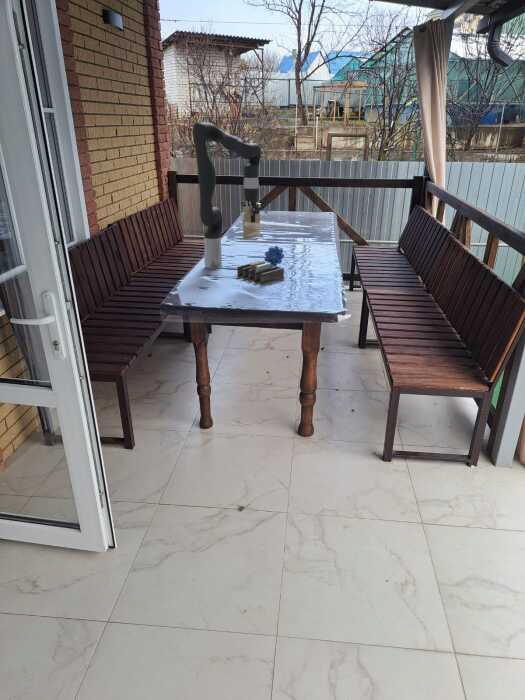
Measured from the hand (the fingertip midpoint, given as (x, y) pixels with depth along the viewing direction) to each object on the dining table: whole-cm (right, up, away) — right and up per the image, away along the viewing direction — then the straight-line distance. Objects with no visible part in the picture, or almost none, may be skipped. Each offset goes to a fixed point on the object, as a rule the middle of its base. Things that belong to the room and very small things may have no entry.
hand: (251, 221), depth 251 cm
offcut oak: (+3, -26, +9) cm, 28 cm away
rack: (+5, -28, +8) cm, 30 cm away
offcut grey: (+6, -28, +6) cm, 29 cm away
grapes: (+13, -18, +31) cm, 38 cm away
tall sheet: (0, -7, +4) cm, 8 cm away
